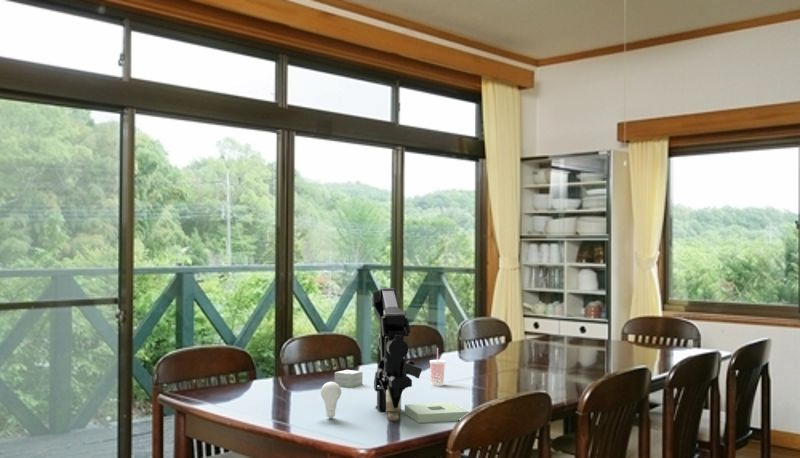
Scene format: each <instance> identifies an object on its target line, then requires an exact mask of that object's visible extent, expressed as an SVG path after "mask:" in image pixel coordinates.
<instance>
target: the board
mask: <svg viewBox="0 0 800 458" xmlns="http://www.w3.org/2000/svg"><path fill="white" fill-rule="evenodd" d="M467 413H469V410H467V409H465V408H463V407H461V406H460V405H458V404H456V403H455V402H451V401H450V402H433V403H432V402H431V403H418V404H417V403H416V404H415V403H413V404H405V405H404V414H406V416H408V417H410V418H411V419H413V420H414V421H415V422H416V423H418V424H422V423H437V422H441V423H442V422H455V421H458V420H459V419H460V418H462V417H463V416H464V415H466V414H467ZM469 414H470V413H469ZM459 421H460V420H459Z"/></svg>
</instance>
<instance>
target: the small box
mask: <svg viewBox="0 0 800 458" xmlns="http://www.w3.org/2000/svg"><path fill="white" fill-rule="evenodd" d="M334 382H335V383H337V384H338V385H339V386H340V387H344V386H345V388H354V387H357V386H361V384H362V385H363V371H361V370H353V369H352V370H351V369H345V370H339V371H335V372H334ZM353 386H354V387H353Z"/></svg>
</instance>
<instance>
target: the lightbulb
mask: <svg viewBox="0 0 800 458" xmlns="http://www.w3.org/2000/svg"><path fill="white" fill-rule="evenodd" d="M320 395H321V398H322V400H323V402H324V406H325V410H326V417H327V418H328V419H333V418H334V417H335V415H336V410H337V404H338V401H339V400H340V397H341V396H342V388H341V386H339V385H338V384H337V383H335V381H328V382H326V383H324V384H323V386H322V387H321V389H320Z"/></svg>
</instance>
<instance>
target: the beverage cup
mask: <svg viewBox="0 0 800 458" xmlns="http://www.w3.org/2000/svg"><path fill="white" fill-rule="evenodd" d="M429 365H430V367H429V368H430V383H431V386H435V385H436V386H438V387H439V386H440V387H441V386H444V378H445V366H446V360H444V359H439V347H436V359H430V360H429Z"/></svg>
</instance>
